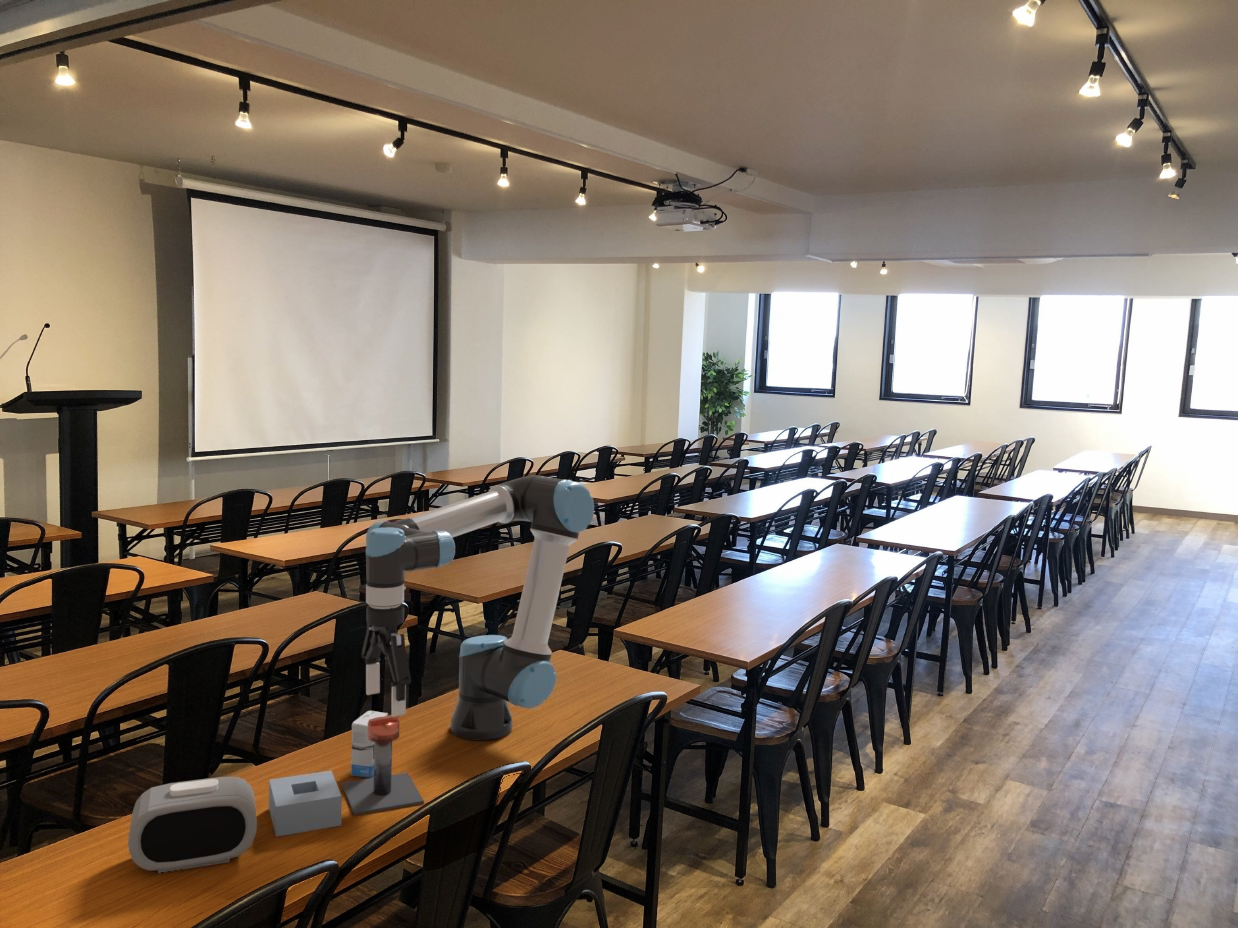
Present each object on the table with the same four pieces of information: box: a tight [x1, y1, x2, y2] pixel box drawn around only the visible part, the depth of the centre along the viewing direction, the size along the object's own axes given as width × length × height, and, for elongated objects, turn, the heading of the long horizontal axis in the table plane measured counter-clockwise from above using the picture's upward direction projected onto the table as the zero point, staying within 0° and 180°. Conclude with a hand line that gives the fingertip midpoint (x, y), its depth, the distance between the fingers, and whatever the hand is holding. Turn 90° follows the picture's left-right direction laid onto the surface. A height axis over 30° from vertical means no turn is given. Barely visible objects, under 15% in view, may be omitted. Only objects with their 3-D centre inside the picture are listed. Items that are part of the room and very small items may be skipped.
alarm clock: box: [127, 776, 258, 874], centre depth 167 cm, size 21×10×13 cm, turn 114°
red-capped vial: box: [367, 715, 401, 796], centre depth 193 cm, size 6×6×16 cm
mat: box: [341, 772, 425, 816], centre depth 194 cm, size 14×14×1 cm
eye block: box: [268, 770, 343, 838], centre depth 183 cm, size 12×12×6 cm
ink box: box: [350, 710, 389, 779], centre depth 205 cm, size 8×5×12 cm, turn 168°
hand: (385, 703), depth 192 cm, fingers open, 13 cm apart
